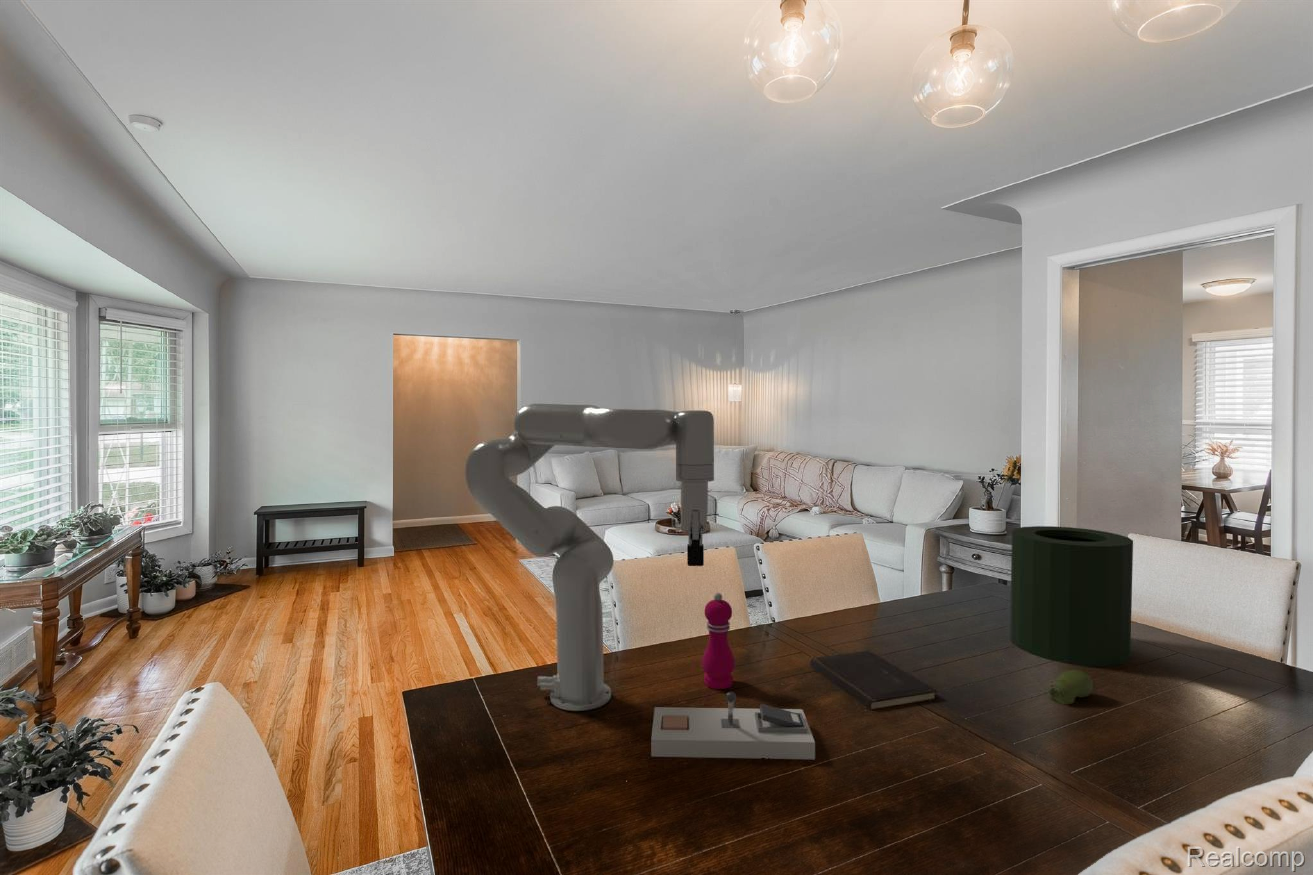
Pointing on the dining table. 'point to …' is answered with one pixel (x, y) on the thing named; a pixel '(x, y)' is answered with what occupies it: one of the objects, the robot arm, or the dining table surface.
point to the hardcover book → (872, 679)
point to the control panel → (730, 735)
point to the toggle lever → (730, 705)
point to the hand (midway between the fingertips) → (695, 564)
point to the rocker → (779, 716)
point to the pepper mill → (718, 645)
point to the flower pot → (1072, 595)
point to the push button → (674, 722)
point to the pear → (1071, 687)
